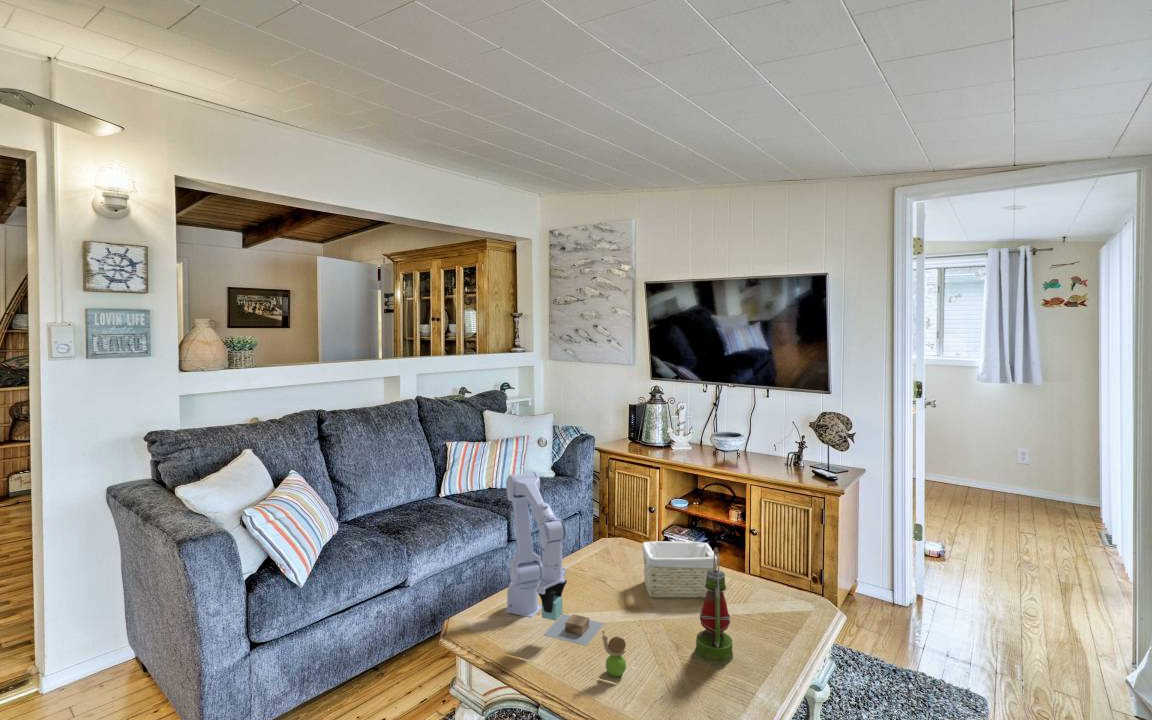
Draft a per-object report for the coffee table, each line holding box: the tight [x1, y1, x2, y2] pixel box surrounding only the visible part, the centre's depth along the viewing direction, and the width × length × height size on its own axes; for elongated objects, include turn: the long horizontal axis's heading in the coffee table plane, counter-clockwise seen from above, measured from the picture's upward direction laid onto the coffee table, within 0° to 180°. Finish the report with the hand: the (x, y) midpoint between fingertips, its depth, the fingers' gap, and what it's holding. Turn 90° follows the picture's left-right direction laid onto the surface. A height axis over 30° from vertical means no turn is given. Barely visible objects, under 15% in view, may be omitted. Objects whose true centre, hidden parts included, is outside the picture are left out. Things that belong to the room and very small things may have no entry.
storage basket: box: [641, 540, 718, 599], centre depth 208 cm, size 24×16×15 cm
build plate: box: [543, 613, 605, 646], centre depth 180 cm, size 14×14×1 cm
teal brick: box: [541, 596, 563, 622], centre depth 173 cm, size 4×4×5 cm
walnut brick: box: [565, 613, 590, 636], centre depth 180 cm, size 6×6×3 cm
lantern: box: [694, 547, 734, 665], centre depth 167 cm, size 14×11×30 cm
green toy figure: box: [601, 630, 627, 678], centre depth 157 cm, size 5×6×12 cm
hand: (551, 608), depth 173 cm, fingers closed on teal brick, 4 cm apart
